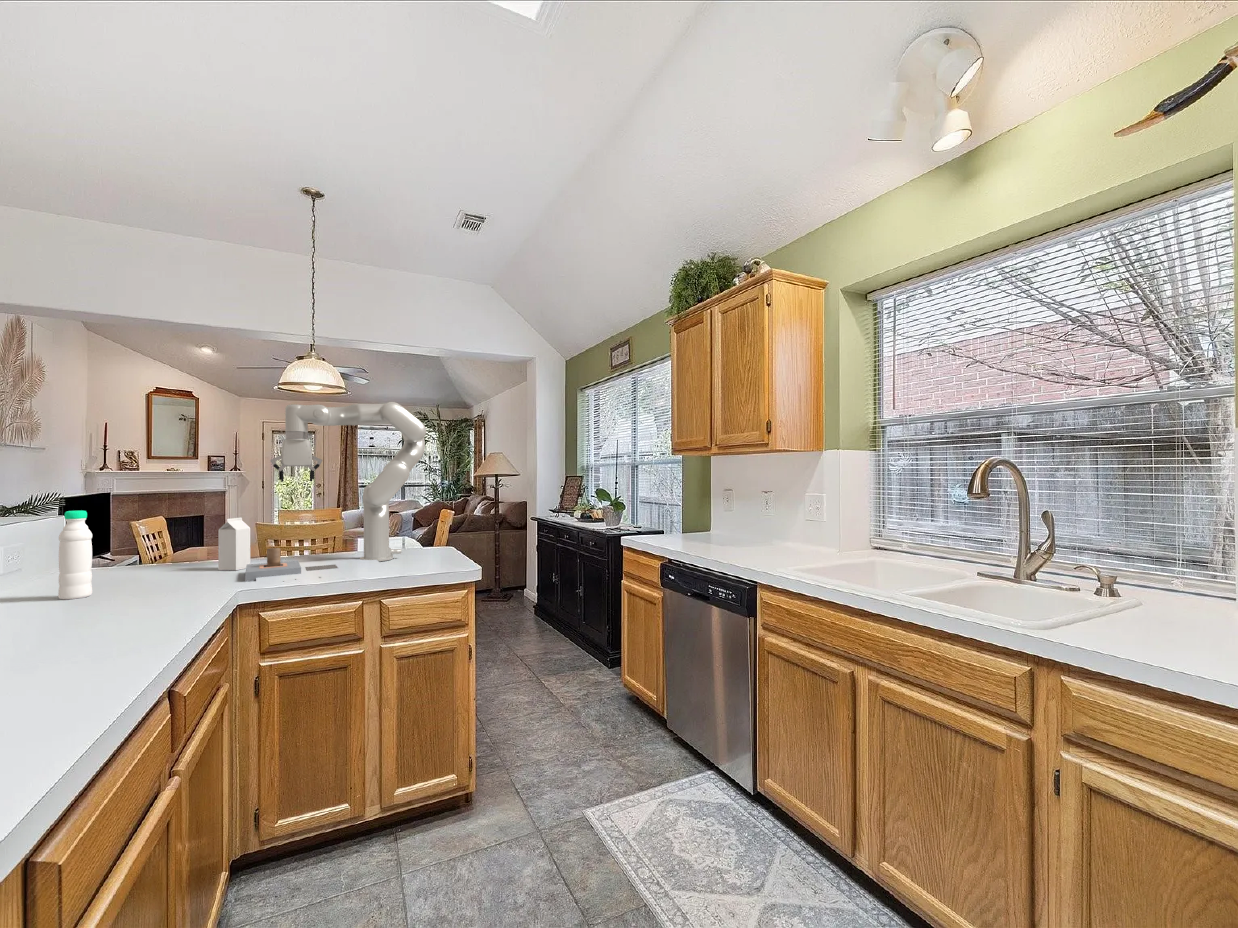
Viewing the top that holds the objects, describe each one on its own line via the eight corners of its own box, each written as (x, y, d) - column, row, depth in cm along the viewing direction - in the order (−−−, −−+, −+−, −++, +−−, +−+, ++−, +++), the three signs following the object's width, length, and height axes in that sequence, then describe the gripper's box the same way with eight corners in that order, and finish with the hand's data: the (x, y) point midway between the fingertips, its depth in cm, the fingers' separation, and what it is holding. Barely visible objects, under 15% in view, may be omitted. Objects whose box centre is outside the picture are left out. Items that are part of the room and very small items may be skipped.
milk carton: (250, 567, 215) (250, 517, 215) (236, 570, 208) (236, 518, 208) (233, 567, 216) (233, 517, 216) (218, 570, 209) (218, 518, 209)
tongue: (335, 567, 214) (335, 564, 214) (338, 570, 205) (338, 567, 205) (305, 569, 208) (305, 567, 208) (306, 573, 200) (306, 570, 200)
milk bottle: (97, 595, 166) (98, 510, 167) (68, 600, 160) (68, 511, 160) (82, 594, 169) (82, 509, 169) (52, 599, 162) (52, 511, 162)
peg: (280, 573, 202) (280, 547, 202) (280, 574, 198) (280, 548, 198) (267, 574, 199) (267, 548, 200) (267, 576, 196) (267, 549, 196)
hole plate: (298, 568, 212) (298, 559, 212) (301, 576, 195) (301, 566, 195) (246, 572, 203) (246, 563, 203) (245, 581, 186) (245, 571, 186)
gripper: (321, 438, 226) (321, 481, 226) (270, 437, 217) (270, 481, 217) (322, 436, 220) (323, 481, 219) (270, 435, 210) (270, 482, 210)
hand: (296, 481), depth 218 cm, fingers open, 9 cm apart
